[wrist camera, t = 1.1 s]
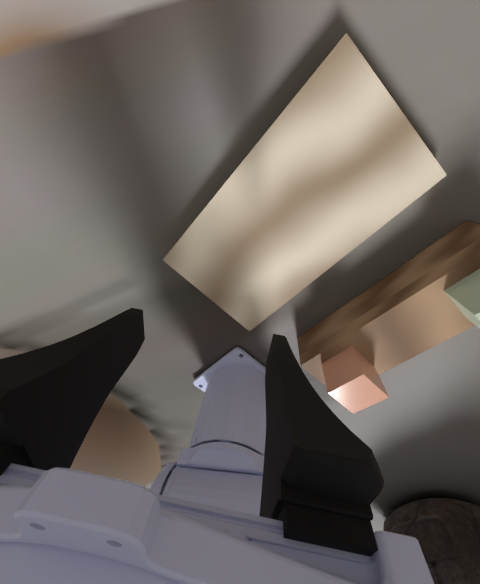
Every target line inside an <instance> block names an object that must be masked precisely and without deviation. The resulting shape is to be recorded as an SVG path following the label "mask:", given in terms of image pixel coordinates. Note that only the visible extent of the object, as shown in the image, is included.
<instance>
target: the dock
mask: <svg viewBox="0 0 480 584" xmlns="http://www.w3.org/2000/svg"><path fill="white" fill-rule="evenodd" d="M445 176H446V173H445V172H444V170H443V169H442V167H441V166H440V165H439V163H438V162H437V160H436V159H435V158H434V156H433V155H432V153H431V152H430V150H429V149H428V148H427V146H426V145H425V143H424V142H423V141H422V139H421V138H420V136H419V135H418V133H417V132H416V131H415V129H414V128H413V126H412V125H411V124H410V122H409V121H408V119H407V118H406V116H405V115H404V114H403V112H402V111H401V109H400V108H399V107H398V105H397V104H396V102H395V101H394V99H393V98H392V97H391V95H390V94H389V92H388V91H387V90H386V88H385V87H384V85H383V84H382V82H381V81H380V80H379V78H378V77H377V75H376V74H375V73H374V71H373V70H372V68H371V67H370V65H369V64H368V63H367V61H366V60H365V58H364V57H363V56H362V54H361V53H360V51H359V50H358V49H357V47H356V46H355V44H354V43H353V41H352V40H351V39H350V37H349V36H348V34H347V33H346V34H345V35H344V36H343V38H342V39H341V40H340V41H339V42H338V44H337V45H336V46H335V47H334V49H333V50H332V51H331V52H330V54H329V55H328V56H327V57H326V59H325V60H324V61H323V62H322V63H321V65H320V66H319V67H318V68H317V70H316V71H315V72H314V73H313V75H312V76H311V77H310V78H309V80H308V81H307V82H306V83H305V85H304V86H303V87H302V88H301V89H300V91H299V92H298V93H297V94H296V96H295V97H294V98H293V99H292V101H291V102H290V103H289V104H288V106H287V107H286V108H285V109H284V110H283V112H282V113H281V114H280V115H279V117H278V118H277V119H276V120H275V122H274V123H273V124H272V125H271V127H270V128H269V129H268V130H267V132H266V133H265V134H264V135H263V136H262V138H261V139H260V140H259V141H258V143H257V144H256V145H255V146H254V148H253V149H252V150H251V151H250V153H249V154H248V155H247V156H246V157H245V159H244V160H243V161H242V162H241V164H240V165H239V166H238V167H237V169H236V170H235V171H234V172H233V174H232V175H231V176H230V177H229V179H228V180H227V181H226V182H225V183H224V185H223V186H222V187H221V188H220V190H219V191H218V192H217V193H216V195H215V196H214V197H213V198H212V200H211V201H210V202H209V203H208V204H207V206H206V207H205V208H204V209H203V211H202V212H201V213H200V214H199V216H198V217H197V218H196V219H195V221H194V222H193V223H192V224H191V226H190V227H189V228H188V229H187V230H186V232H185V233H184V234H183V235H182V237H181V238H180V239H179V240H178V242H177V243H176V244H175V245H174V247H173V248H172V249H171V250H170V251H169V253H168V254H167V255H166V256H165V258H164V259H163V261H164V262H166V263H167V264H168V265H169V266H170V267H172V268H173V269H174V270H175V271H176V272H178V273H179V274H180V275H181V276H183V277H184V278H185V279H186V280H187V281H189V282H190V283H191V284H192V285H193V286H195V287H196V288H197V289H198V290H200V291H201V292H202V293H203V294H204V295H206V296H207V297H208V298H209V299H210V300H212V301H213V302H214V303H215V304H217V305H218V306H219V307H220V308H221V309H223V310H224V311H225V312H226V313H227V314H229V315H230V316H231V317H232V318H234V319H235V320H236V321H237V322H238V323H240V324H241V325H242V326H243V327H244V328H246V329H247V330H248V331H249V332H250V331H251V330H252V329H253V328H255V327H256V326H257V325H258V324H260V323H261V322H262V321H263V320H265V319H266V318H267V317H268V316H270V315H271V314H272V313H274V312H275V311H276V310H277V309H279V308H280V307H281V306H282V305H284V304H285V303H286V302H287V301H289V300H290V299H291V298H292V297H294V296H295V295H296V294H297V293H299V292H300V291H301V290H303V289H304V288H305V287H306V286H308V285H309V284H310V283H311V282H313V281H314V280H315V279H316V278H318V277H319V276H320V275H321V274H323V273H324V272H325V271H327V270H328V269H329V268H330V267H332V266H333V265H334V264H335V263H337V262H338V261H339V260H340V259H342V258H343V257H344V256H345V255H347V254H348V253H349V252H351V251H352V250H353V249H354V248H356V247H357V246H358V245H359V244H361V243H362V242H363V241H364V240H366V239H367V238H368V237H369V236H371V235H372V234H373V233H375V232H376V231H377V230H378V229H380V228H381V227H382V226H383V225H385V224H386V223H387V222H388V221H390V220H391V219H392V218H393V217H395V216H396V215H397V214H399V213H400V212H401V211H402V210H404V209H405V208H406V207H407V206H409V205H410V204H411V203H412V202H414V201H415V200H416V199H417V198H419V197H420V196H421V195H423V194H424V193H425V192H426V191H428V190H429V189H430V188H431V187H433V186H434V185H435V184H436V183H438V182H439V181H440V180H441V179H443V178H444V177H445Z"/></svg>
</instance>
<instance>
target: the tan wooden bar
mask: <svg viewBox="0 0 480 584" xmlns="http://www.w3.org/2000/svg"><path fill="white" fill-rule="evenodd" d="M478 269H480V224H477V223H474V222H470V221H465V222H464V223H462V224H461V225H460V226H458V227H457V228H455V229H454V230H452V231H451V232H449V233H448V234H447V235H445V236H444V237H442V238H441V239H439V240H438V241H436V242H435V243H434V244H432V245H431V246H429V247H428V248H426V249H425V250H423V251H422V252H421V253H419V254H418V255H416V256H415V257H413V258H412V259H410V260H409V261H408V262H406V263H405V264H403V265H402V266H400V267H399V268H398V269H396V270H395V271H393V272H392V273H390V274H389V275H387V276H386V277H385V278H383V279H382V280H380V281H379V282H377V283H376V284H374V285H373V286H372V287H370V288H369V289H367V290H366V291H364V292H363V293H361V294H360V295H359V296H357V297H356V298H354V299H353V300H351V301H350V302H348V303H347V304H346V305H344V306H343V307H341V308H340V309H338V310H337V311H335V312H334V313H333V314H331V315H330V316H328V317H327V318H325V319H324V320H323V321H321V322H320V323H318V324H317V325H315V326H314V327H312V328H311V329H310V330H308V331H307V332H305V333H304V334H302V335H301V336H299V337H298V338H297V340H298V348H299V355H300V363H301V366H302V367H303V368H304V369H306V370H307V371H308V372H309V373H310V374H312V375H313V376H314V377H315V378H316V379H318V380H319V381H320V382H321V383H322V384H324V385H325V386H326V382H325V378H324V373H323V369H322V363H324V362H326V361H327V360H329V359H330V358H332V357H334V356H335V355H337V354H339V353H340V352H342V351H344V350H345V349H347V348H349V347H350V346H353V347H354V348H355V349H356V350H357V351H358V352H359V353H360V354H361V355H362V356H363V357H365V358H366V359H367V360H368V361H369V362H370V363H371V364H372V365H373V366H374V367H375V369H376V371H377V373H378V375H380V374H382V373H384V372H385V371H387V370H389V369H391V368H393V367H395V366H397V365H399V364H401V363H403V362H405V361H407V360H409V359H411V358H413V357H414V356H416V355H418V354H420V353H422V352H424V351H426V350H428V349H430V348H432V347H434V346H436V345H438V344H440V343H442V342H443V341H445V340H447V339H449V338H451V337H453V336H455V335H457V334H459V333H461V332H463V331H465V330H467V329H469V328H471V327H472V326H474V324H473V323H472V322H471V321H470V320H468V319H467V318H466V317H465V316H464V314H463V313H462V312H461V311H460V310H459V308H458V307H457V306H456V305H455V304H454V303H453V301H452V300H451V299H450V298H449V297H448V295H447V294H446V293H445V292H444V290H445V289H447V288H449V287H450V286H452V285H454V284H455V283H457V282H459V281H460V280H462V279H463V278H465V277H467V276H468V275H470V274H472V273H473V272H475V271H477V270H478ZM326 387H327V386H326Z"/></svg>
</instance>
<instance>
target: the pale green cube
mask: <svg viewBox="0 0 480 584" xmlns="http://www.w3.org/2000/svg"><path fill="white" fill-rule="evenodd" d="M444 292H445V293H446V294H447V295H448V297H449V298H450V299H451V300H452V301H453V303H454V304H455V305H456V306H457V307H458V308H459V310H460V311H461V312H462V313H463V314H464V316H465V317H466V318H467V319H468V320H470V321H471V322H472V323H473V324H474V325H476V326H477V327H478V328H479V329H480V269H478V270H477V271H475V272H473V273H472V274H470V275H468V276H467V277H465V278H463V279H462V280H460V281H459V282H457V283H455V284H454V285H452V286H450V287H449V288H447V289H445V290H444Z"/></svg>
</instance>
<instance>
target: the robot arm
mask: <svg viewBox="0 0 480 584" xmlns="http://www.w3.org/2000/svg"><path fill="white" fill-rule="evenodd" d="M144 339H145V337H144V322H143V310H140V309H135V308H131V309H129V310H126V311H124V312H122V313H121V314H119V315H117V316H115V317H113V318H111V319H109V320H107V321H105V322H103V323H101V324H99V325H97V326H95V327H93V328H91V329H88V330H86V331H84V332H82V333H80V334H78V335H75V336H73V337H71V338H68V339H66V340H63V341H60V342H58V343H55V344H52V345H49V346H46V347H43V348H39V349H36V350H33V351H30V352H27V353H23V354H19V355H15V356H12V357H7V358H3V359H0V584H434V582H433V579H432V576H431V574H430V571H429V568H428V566H427V563H426V561H425V558H424V555H423V553H422V550H421V547H420V545H419V542H418V540H417V539H416V538H414V537H411V536H406V535H401V534H396V533H392V532H387V531H375V532H374V533H373V529H372V525H371V522H370V520H372V519H373V514H372V510H371V507H370V504H371V503H372V501H373V500H374V499H375V498H376V497H377V496H378V494H379V493H380V492H381V490H382V488H383V486H384V480H383V477H382V474H381V472H380V469H379V466H378V463H377V461H376V459H375V457H374V454H373V452H372V450H371V449H370V448H369V447H368V446H367V445H366V444H365V443H364V442H363V441H361V440H360V439H359V438H358V437H357V436H356V435H355V434H354V433H352V432H351V431H350V430H349V429H348V428H347V427H346V426H345V425H344V424H343V423H342V422H341V421H340V420H339V419H338V418H337V417H336V415H335V414H334V413H333V412H332V411H331V410H330V409H329V407H328V406H327V405H326V404H325V403H324V402H323V400H322V399H321V398H320V397H319V395H318V394H317V393H316V391H315V390H314V388H313V387H312V386H311V384H310V383H309V381H308V379H307V378H306V376H305V375H304V373H303V371H302V369H301V368H300V366H299V364H298V362H297V360H296V358H295V356H294V354H293V352H292V350H291V348H290V346H289V343H288V341H287V338H286V337H285V336H282V335H276V334H273V338H272V342H271V346H270V350H269V354H268V358H267V362H266V368H265V367H264V366H263V365H261V364H260V363H259V362H258V361H256V360H255V359H254V358H253V357H251V356H250V355H249V354H248V353H246V352H245V351H244V350H242V349H241V348H239V347H236V348H234V349H233V350H231V351H230V352H229V353H228V354H226V355H225V356H224V357H222V358H221V359H220V360H219V361H217V362H216V363H215V364H213V365H212V366H211V367H210V368H208V369H207V370H206V371H204V372H203V373H202V374H201V375H199V376H198V377H197V378H195V379H194V381H193V384H194V385H195V386H196V387H198V388H199V389H201V390H202V391H203V392H205V394H204V397H203V401H202V404H201V408H200V411H199V414H198V418H197V421H196V425H195V428H194V432H193V435H192V438H191V442H190V445H189V448H188V449H185V448H182V449H181V451H180V455H179V458H178V461H177V462H170V463H168V464H167V465H166V466H165V467H164V468H163V470H162V471H161V472H160V473H159V474H158V475H157V477H156V478H155V480H154V482H153V484H152V486H151V488H150V490H149V489H148V488H146V487H145V486H142V485H139V484H136V483H133V482H130V481H125V480H121V479H116V478H112V477H107V476H102V475H97V474H92V473H88V472H83V471H78V470H74V469H70V467H71V465H72V462H73V460H74V458H75V456H76V454H77V452H78V450H79V448H80V446H81V444H82V442H83V440H84V438H85V436H86V434H87V432H88V430H89V428H90V427H91V425H92V423H93V421H94V419H95V417H96V415H97V414H98V412H99V410H100V408H101V407H102V405H103V403H104V401H105V399H106V398H107V396H108V395H109V393H110V392H111V390H112V389H113V387H114V386H115V384H116V383H117V382H118V380H119V379H120V377H121V376H122V375H123V373H124V372H125V371H126V369H127V368H128V366H129V365H130V363H131V362H132V361H133V359H134V358H135V356H136V355H137V353H138V351H139V349H140V347H141V345H142V343H143V341H144ZM240 354H243V355H240Z"/></svg>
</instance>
